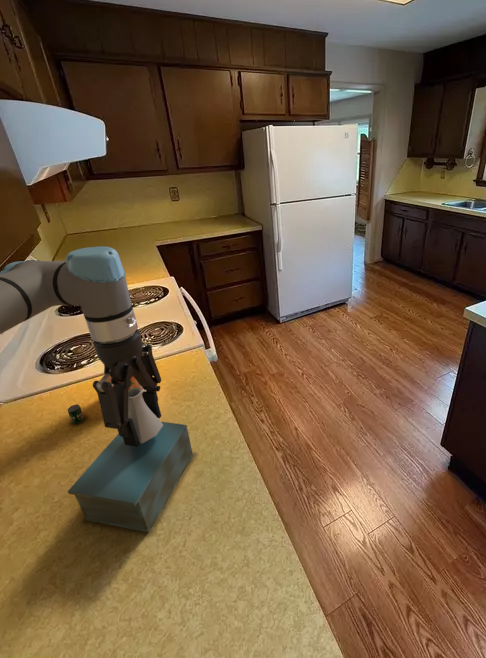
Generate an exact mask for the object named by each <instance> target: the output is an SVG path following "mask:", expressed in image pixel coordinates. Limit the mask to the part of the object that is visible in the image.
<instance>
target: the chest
mask: <svg viewBox="0 0 486 658" xmlns="http://www.w3.org/2000/svg"><path fill="white" fill-rule="evenodd" d="M193 456H194V453H193V448H192V443H191V440H190V434H189V430H188V427H187V428H186V429H185V431H184V432H183V434H182V435H181V437H180V438H179V440H178V441H177V443H176V444H175V446H174V447H173V449H172V451H171V452H170V454H169V455H168V457H167V458H166V460H165V461H164V463H163V464H162V466H161V467H160V469H159V470H158V472H157V473H156V475H155V476H154V478H153V480H152V481H151V483H150V484H149V486H148V487H147V489H146V490H145V492H144V493H143V495H142V496H141V498H140V499H139V501H138V502H137V504H136V506H133V505H127V504H122V503H116V502H111V501H106V500H100V499H95V498H89V497H84V496H78V495H74V497H75V499H76V502H77V503H78V505H79V508H80V510H81V512H82V514H83V516H84V519H85V521H87V522H88V521H89V522H92V523H93V522H94V523H98V524H104V525H108V526H113V527H118V528H124V529H129V530H134V531H139V532H143V533H148V534H149V533H150V531H151V530H152V529H153V526H154V525H155V522H156V521H157V519H158V517H159V516H160V514H161V512H162V511H163V509H164V508H165V505H166V504H167V502H168V500H169V498H170V496H171V495H172V494H173V492H174V489H175V488H176V486H177V484H178V483H179V481H180V479H181V477H182V476H183V473H185V471H186V469H187V468H188V465H189V464H190V462H191V460H192V458H193Z"/></svg>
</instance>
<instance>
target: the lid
mask: <svg viewBox="0 0 486 658" xmlns="http://www.w3.org/2000/svg"><path fill="white" fill-rule="evenodd" d="M161 423H162V424H163V426H162V428H161V429H160V431H159V432H158V434H157V435H156V436H154V437H153V438H151V439H149V440H147V441H146V442H144V443H140V444H139V446H138V447H135V446H128V445H125V443H124V440H123V437H121V436H120V435H119V433H117V435H115V437H114V438H113V439H112V440H111V441H110V442H109V444H108V445H107V446H106V447H105V448H104V449H103V451H101V452H100V454H99V455H98V456H97V457H96V458H95V460H94V461H93V462H91V464H90V465H89V466H88V467H87V468H86V470H85V471H84V472H83V473H82V474H81V475H80V477H78V479H77V480H76V481H75V482H74V483H73V485H71V487H70V488H69V489H67V494H69V495H72V496H75V495H78V496H84V497H89V498H95V499H100V500H106V501H111V502H116V503H122V504H127V505H133V506H136V504H137V502H138V501H139V499H140V498H141V496H142V495H143V493H144V492H145V490H146V489H147V487H148V486H149V484H150V483H151V481H152V480H153V478H154V476H155V475H156V473H157V472H158V470H159V469H160V467H161V466H162V464H163V463H164V461H165V460H166V458H167V457H168V455H169V454H170V452H171V451H172V449H173V447H174V446H175V444H176V443H177V441H178V440H179V438H180V437H181V435H182V434H183V432H184V431H185V429H186V428H187V429H188V425H187V424H182V423H175V422H168V421H161Z"/></svg>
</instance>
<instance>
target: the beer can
mask: <svg viewBox="0 0 486 658" xmlns="http://www.w3.org/2000/svg"><path fill="white" fill-rule="evenodd" d="M67 413H68V416H69V418H70V421H71V423H72V424H73V425H79V424H82V422H83V421H85V415H84V413H83V410H82V408H81V406H80V405H79V404H73V405H70V406H69V407H68V408H67Z"/></svg>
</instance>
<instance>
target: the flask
mask: <svg viewBox="0 0 486 658" xmlns="http://www.w3.org/2000/svg"><path fill="white" fill-rule="evenodd" d="M142 393H143V391H142V390H141V389H140V388H132V389H130V390H128V418H130V419H132V420H133V423H134V426H135V430H136V433H137V436H138V439H139V443H144V442H146V441H147V440H149V439H151V438H153V437H154V436H156V435H157V434H158V432H159V431H160V429H161V428H162V426H163V424H162V423H161V422H162V421H161V420H160V419H159V418H157V417H156V416H155V415H154V413H153V412H152V411H151V410H150V409H149V408H148V407H147V405H146V403H145V402H144V400H143V396H142Z"/></svg>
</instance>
